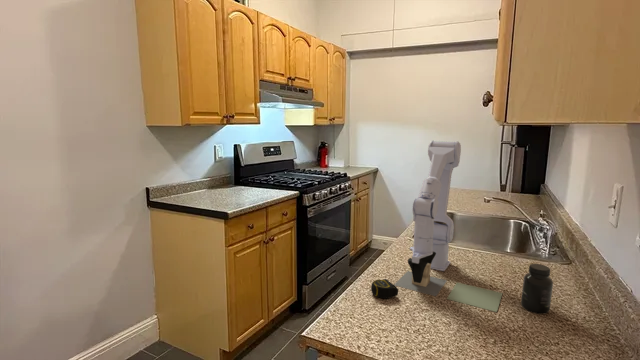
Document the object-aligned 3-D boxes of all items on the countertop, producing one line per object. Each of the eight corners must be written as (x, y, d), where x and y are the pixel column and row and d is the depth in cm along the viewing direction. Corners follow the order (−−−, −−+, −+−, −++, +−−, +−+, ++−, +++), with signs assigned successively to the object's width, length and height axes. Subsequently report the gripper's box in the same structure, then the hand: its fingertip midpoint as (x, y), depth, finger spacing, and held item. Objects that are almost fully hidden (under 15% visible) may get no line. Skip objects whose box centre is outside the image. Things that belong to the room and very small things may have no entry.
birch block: (416, 278, 116) (417, 260, 115) (429, 281, 113) (430, 263, 112) (411, 283, 112) (412, 265, 111) (425, 286, 110) (426, 268, 109)
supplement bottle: (515, 304, 100) (519, 263, 98) (531, 300, 102) (536, 260, 100) (538, 316, 93) (543, 273, 91) (555, 311, 96) (560, 269, 94)
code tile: (407, 271, 122) (407, 271, 121) (447, 280, 115) (447, 280, 115) (393, 285, 111) (393, 285, 111) (436, 296, 104) (436, 296, 104)
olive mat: (456, 282, 113) (456, 282, 113) (502, 293, 106) (502, 293, 106) (446, 299, 102) (446, 298, 102) (496, 312, 95) (496, 311, 95)
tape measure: (399, 299, 102) (399, 286, 102) (377, 302, 100) (378, 289, 100) (387, 288, 109) (387, 277, 108) (367, 291, 107) (367, 279, 106)
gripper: (418, 228, 118) (415, 267, 121) (402, 239, 106) (400, 282, 108) (439, 232, 115) (437, 272, 117) (426, 244, 103) (423, 288, 105)
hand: (421, 277), depth 112 cm, fingers open, 7 cm apart
